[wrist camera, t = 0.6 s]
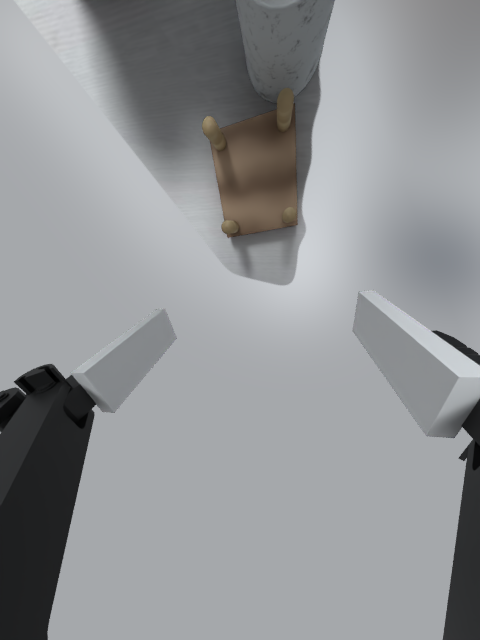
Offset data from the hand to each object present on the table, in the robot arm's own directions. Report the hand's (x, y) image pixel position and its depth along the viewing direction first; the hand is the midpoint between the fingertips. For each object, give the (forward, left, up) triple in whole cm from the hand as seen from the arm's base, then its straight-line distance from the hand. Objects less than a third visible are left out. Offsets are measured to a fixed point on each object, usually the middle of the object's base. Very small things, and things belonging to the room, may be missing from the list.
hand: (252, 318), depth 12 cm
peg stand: (-12, 0, -25) cm, 28 cm away
